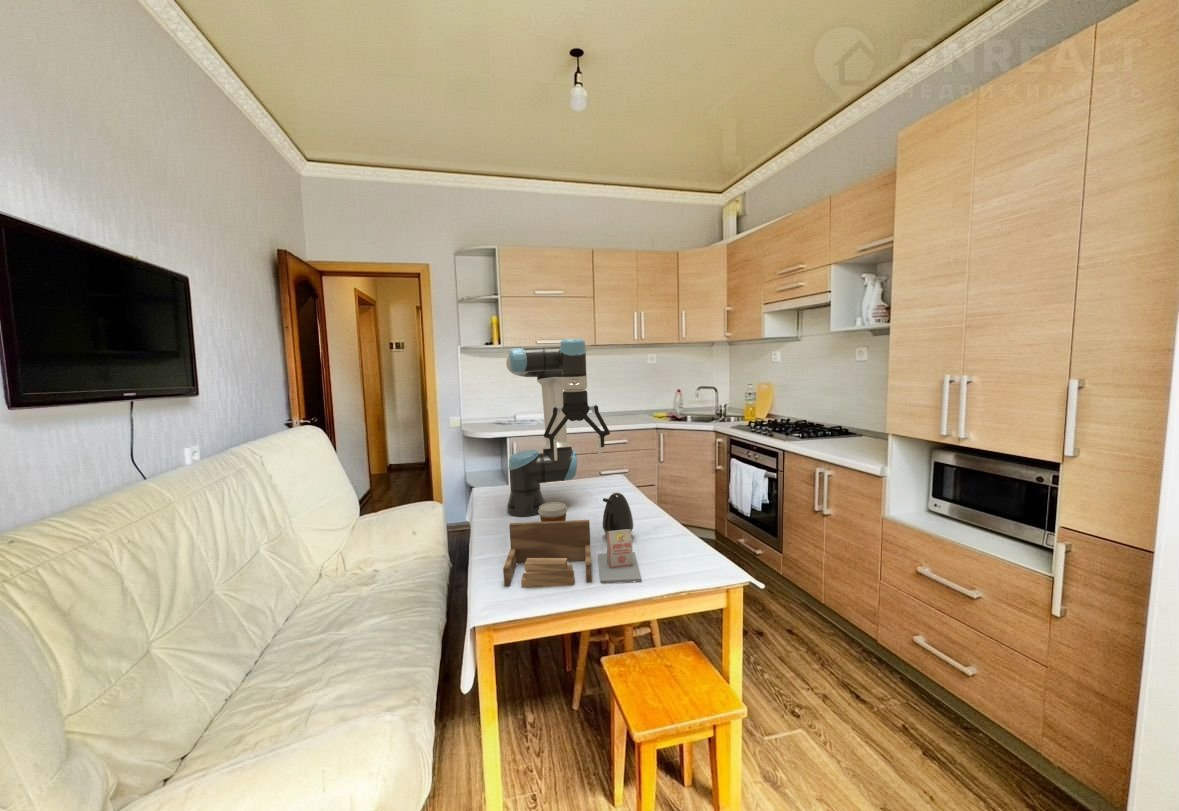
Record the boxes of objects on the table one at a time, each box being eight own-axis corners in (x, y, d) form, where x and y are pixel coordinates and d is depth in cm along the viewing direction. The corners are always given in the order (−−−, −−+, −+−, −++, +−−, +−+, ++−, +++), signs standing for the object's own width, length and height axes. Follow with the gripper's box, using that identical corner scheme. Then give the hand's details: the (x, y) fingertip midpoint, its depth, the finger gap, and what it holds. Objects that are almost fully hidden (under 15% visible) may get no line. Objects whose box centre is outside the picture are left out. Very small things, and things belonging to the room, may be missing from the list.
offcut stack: (523, 578, 123) (522, 558, 122) (574, 576, 123) (573, 555, 122) (521, 588, 118) (520, 566, 117) (574, 585, 118) (573, 564, 117)
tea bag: (607, 562, 129) (605, 529, 128) (629, 559, 130) (628, 526, 129) (609, 568, 125) (608, 534, 124) (632, 565, 126) (631, 531, 125)
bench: (512, 561, 133) (510, 523, 132) (590, 558, 134) (589, 519, 132) (504, 586, 120) (501, 543, 118) (591, 582, 120) (590, 539, 118)
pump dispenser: (596, 536, 150) (594, 492, 148) (622, 528, 155) (621, 486, 153) (613, 546, 141) (611, 500, 139) (639, 539, 146) (638, 494, 144)
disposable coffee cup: (564, 548, 141) (563, 512, 139) (536, 547, 143) (534, 511, 141) (572, 536, 150) (570, 501, 149) (544, 535, 152) (543, 501, 151)
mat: (598, 556, 135) (598, 553, 135) (634, 554, 135) (634, 552, 135) (600, 583, 119) (600, 580, 119) (641, 581, 119) (641, 578, 119)
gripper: (532, 393, 132) (536, 463, 134) (616, 389, 132) (619, 459, 135) (535, 390, 139) (538, 457, 142) (614, 387, 139) (617, 454, 142)
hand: (577, 458), depth 138 cm, fingers open, 13 cm apart
